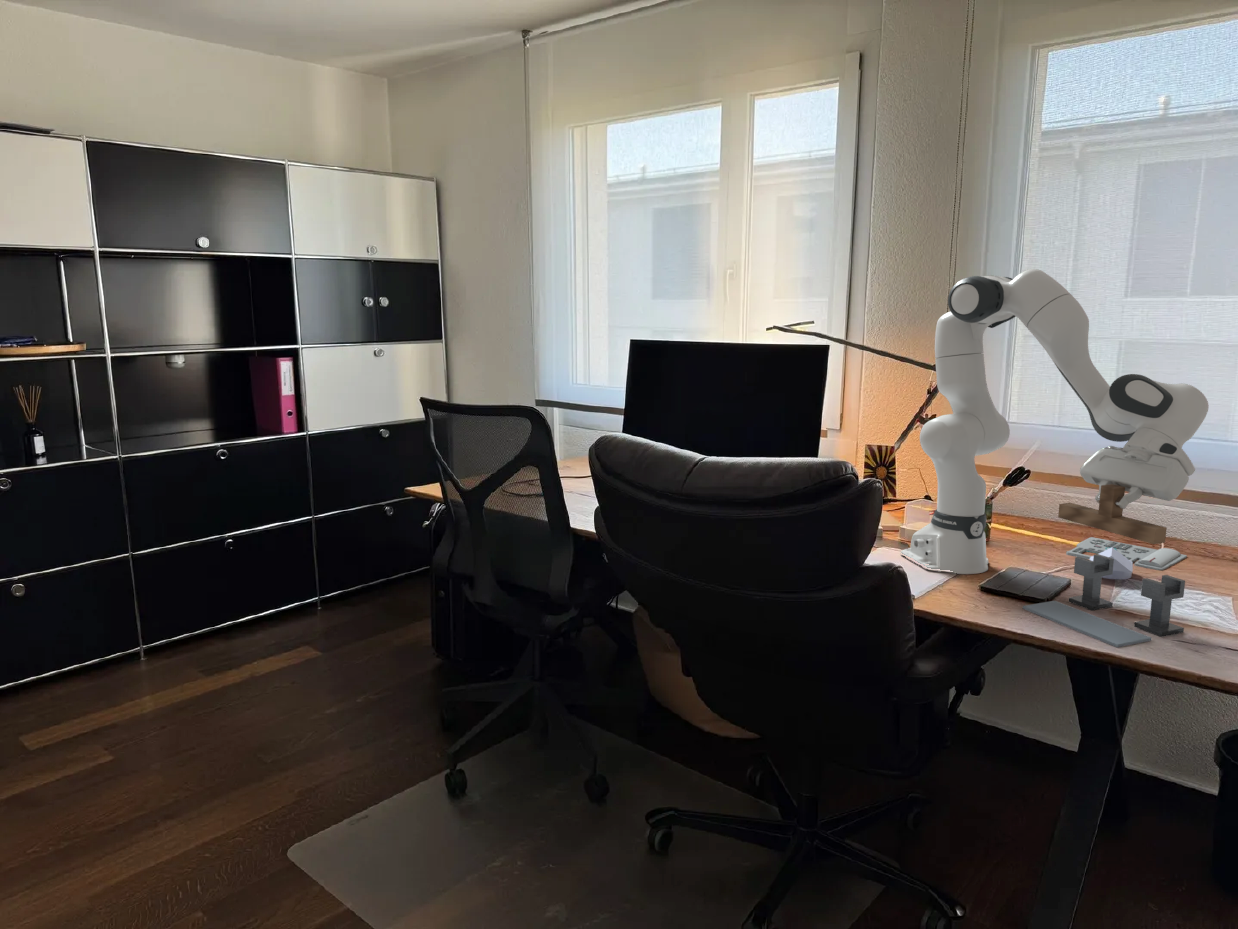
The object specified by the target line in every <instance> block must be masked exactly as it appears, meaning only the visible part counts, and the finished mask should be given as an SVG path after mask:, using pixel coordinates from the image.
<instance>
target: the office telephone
mask: <svg viewBox="0 0 1238 929" xmlns="http://www.w3.org/2000/svg"><path fill="white" fill-rule="evenodd" d="M1111 547H1113V548H1114V549H1115V550H1117V551H1118V552H1119V553H1120V554H1122V555H1123V556H1124V557H1126V558H1127V559H1128V560H1130V561H1132V562H1133V564H1134V567H1135V566H1136V567H1140V568H1143V569H1144V568H1145V569H1149V570H1155V571H1164V570H1166V569H1168V568H1170V567H1171V566H1174V565H1176V564H1178V563H1179V562H1180V561H1182V560H1184V559H1186V558H1187V557H1188V555H1187V554H1181V552H1180V551H1178V550H1176V549H1172V548H1167V547H1163V548H1159V549H1155V548H1150V547H1145V546H1139V545H1135V544H1129V543H1123V542H1119V541H1112V540H1110V539H1109V540H1108V539H1103V538H1097V537H1094V536H1090V537H1088V538H1086V539H1084V540H1082V541H1081V542H1078V543H1077V544H1076V547H1074V548H1072V549H1069V550H1068V551H1065V552H1066V554H1065V555H1066V556H1071V557H1074V558H1075V557H1081V558H1085V559H1088V560H1090V557H1091V556H1092V555H1088V554H1085V552H1087V553H1093V554H1099V553H1101V552H1103V551H1105V550H1107V549H1109V548H1111ZM1083 553H1084V554H1083Z"/></svg>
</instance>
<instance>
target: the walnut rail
mask: <svg viewBox="0 0 1238 929" xmlns="http://www.w3.org/2000/svg"><path fill="white" fill-rule="evenodd" d="M1125 493H1126V491H1125V487H1122V486H1118V485H1113V484H1109V485H1101V491H1100V501H1099V503H1098V509H1096V508H1093V507H1088V506H1084V505H1081V504H1077V503H1073V502H1064V503H1059V505H1058V514H1057V515H1058V516H1057V517H1058V518H1059V519H1062V520H1066V521H1068V522H1069V521H1070V522H1073V523H1076V524H1081V525H1084V526H1087V527H1090V528H1094V529H1097V530H1101V531H1105V532H1108V533H1113V534H1116V535H1120V536H1123V537H1126V538H1130V539H1133V540H1137V541H1141V542H1144V543H1148V544H1150V545H1151V544H1152V545H1157V544H1165V543H1166V538H1167V529H1168V528H1167V527H1166V526H1162V525H1158V524H1155V523H1151V522H1148V521H1147V522H1146V521H1142V520H1139V519H1135V518H1131V517H1127V516H1123V513H1124V512H1123V511H1124V509H1121V508H1118V507H1116V505H1115V504H1114V502H1115V500H1117V498H1118V497H1119V496H1120V497H1123V496H1125V495H1126V494H1125Z"/></svg>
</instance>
